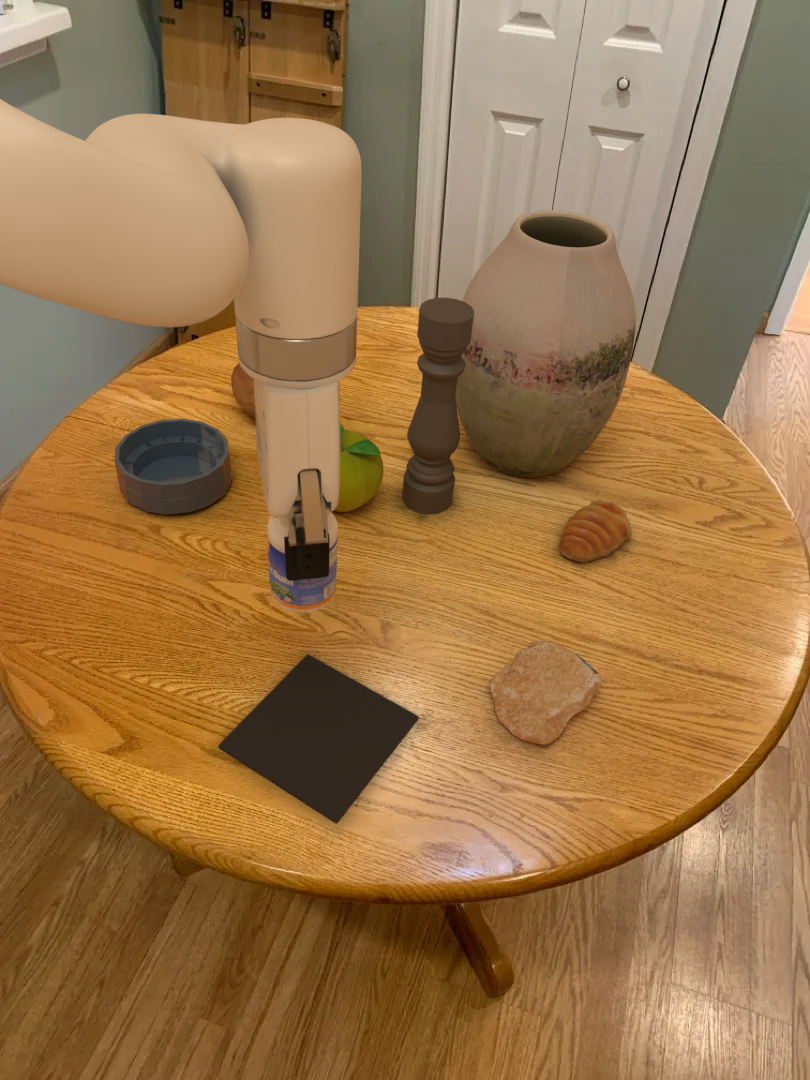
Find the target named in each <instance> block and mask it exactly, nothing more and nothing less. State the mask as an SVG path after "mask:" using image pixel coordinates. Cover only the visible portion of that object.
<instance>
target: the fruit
mask: <svg viewBox="0 0 810 1080" xmlns="http://www.w3.org/2000/svg"><path fill="white" fill-rule="evenodd" d="M383 477H384V462H383V458H382V455H381V451H380V449H379V448H378V446H377V445H376V444H375V442H373V441H371V439H369V438H368V437H367V436H366V435H365V434H364V433H361V432H360V433H359V432H356V431H353V430H351V429H347V428H344V425H342V423H341V422H340V486H339V500H338V505H337V507H336V508H335V509H334V510H333V511H332V512H338V513H339V512H340V513H348V512H351V511H353V510H354V511H355V510H356V509H358V508H360V507H362V506H363V505H365V504H367V503H368V502H369V501H371V500H372V498H374V496H375V495H376V494H377V493H378V490H379V489H380V487H381V484H382V481H383Z"/></svg>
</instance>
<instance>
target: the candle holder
mask: <svg viewBox="0 0 810 1080" xmlns="http://www.w3.org/2000/svg"><path fill="white" fill-rule="evenodd" d="M418 310H419V311H418V319H417V321H418V322H417V332H416V333H417V335H416V337H417V339H418V343H419V345H420V348H421V350H422V354H420V355H419V356H418V358H417V361H416V363H417V367H418V370H419V371H420V372H421V374H422V376H421V377H422V378H421V386H420V387H421V388H420V389H421V390H420V397H419V399H418V402H417V404H416V408H415V410H414V413H413V416H412V419H411V421H410V424H409V427H408V429H407V435H406V436H407V441H408V444H409V447H410V448H411V450H412V453H413V455H412V456H411V457H410V458H409V459H408V461H407V463H406V469H405V472H404V474H403V480H402V481H403V482H402V495H401V496H402V497H401V498H402V501H403V504H404V505H405V506H406V507H407V508H408V509H409V510H411V511H413V512H416V513H418V514H422V515H438V514H440V513H443V512H446V511H448V509H449V508H450V507H451V506H452V503H453V501H454V499H453V498H454V491H455V484H456V477H455V474H454V472H455V466H454V463H453V461H452V460H451V456H452V454H454V452H455V451H456V450H457V449H458V447H459V444H460V441H461V435H462V434H461V427H460V422H459V420H460V419H459V414H458V410H457V406H456V399H455V395H456V387H457V378H458V377H459V376H460V375H461V374H462V373H463V372H464V369H465V365H466V364H465V361H464V359H463V358H462V354H463V353H464V352H465V351H466V349H467V346H468V345H469V344H470V341H471V335H472V327H473V319H474V310H473V308H472V307H471V306H470V305H468V304H467V303H466V302H463V300H460V299H457V298H451V297H433V298H429V299H427V300H425V301H423V302H422V303H421V304H420V305H419V309H418Z"/></svg>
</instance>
